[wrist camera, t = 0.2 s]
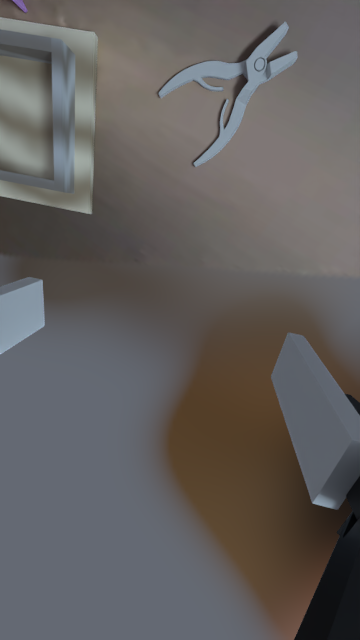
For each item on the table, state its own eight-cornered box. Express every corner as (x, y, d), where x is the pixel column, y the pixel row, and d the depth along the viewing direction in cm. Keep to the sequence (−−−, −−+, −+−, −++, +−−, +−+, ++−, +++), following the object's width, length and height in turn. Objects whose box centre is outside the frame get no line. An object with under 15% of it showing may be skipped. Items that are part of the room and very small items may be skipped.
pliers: (155, 87, 31) (274, -15, 26) (158, 93, 32) (271, -3, 28) (195, 167, 33) (309, 86, 29) (196, 169, 35) (305, 92, 30)
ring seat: (-55, 13, 32) (-90, -13, 28) (97, 37, 31) (81, 13, 27) (-30, 189, 40) (-55, 186, 36) (91, 213, 39) (78, 213, 35)
